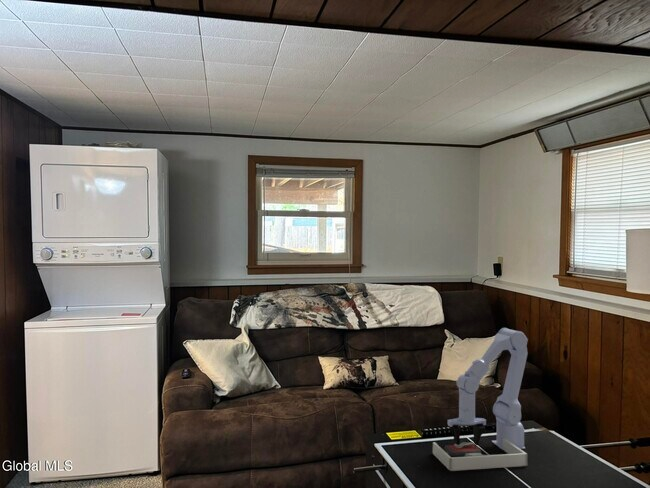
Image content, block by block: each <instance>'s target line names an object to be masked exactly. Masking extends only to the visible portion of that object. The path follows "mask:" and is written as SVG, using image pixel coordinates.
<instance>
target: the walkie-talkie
mask: <svg viewBox="0 0 650 488" xmlns="http://www.w3.org/2000/svg"><path fill="white" fill-rule="evenodd" d="M444 451H445V452H446V453H447V454H448V455H449V456H450V457H451V458H452V457H469V456H485V455H486V454H482V451H481V449H480V448H479V447H478V445H475V444H474V442H472V441H468V442H466V441H463V442H461V443H460V444H459V445H457V444H455V443H454V444H451V445H449V444H448V445H444ZM502 454H503V453H499V454H498V453H497V454H494V455H502Z"/></svg>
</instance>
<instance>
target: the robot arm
mask: <svg viewBox="0 0 650 488" xmlns="http://www.w3.org/2000/svg"><path fill="white" fill-rule="evenodd" d="M528 340H529V338H527V336H526V335H525V333H524V332H523V331H520V330H514V329H509V328H507V327H502V328H501V329H500V330H498V332H497V333H496V334H495V335H494V340H493V342H492V343H491V344H490V346H489V347H488V349H486V352H484V354H483V355H482V357H481V358H477V359H475V360H473V361H472V364H471V365H470V366H469V368H468V369H467V370H465V372H464V373H463V374H461V375H459V377H458V378H457V380H456V381H455V384H456V387H457V388H458V394H459V395H458V397H459V398H458V417H456V418H451V419H447V426H448V427H449V429H450V431H451V433H452V436H453V441H454V444H457V445H459V444H461V443H460V439H461V437H460V436H461V432H462V429H461V428H460V426H461V427H462V426H472V430H473V444H474V445H475V446H479V443H480V440H481V436H482V435H483V433H484V432H485V429H486V427H485V426H486V425H487V419H485V418H484V417H483V418H482V417H476V392H477V391H478V390H479V388H480V383H481V380H482V379H483V378H484V377H485V375H486V374H487V373H488V372H489V371H490V364H491V363H492V362H493V361H494V360H495V359H496V358H497V356H499V355H500V354H501V352H503V351H509V353H510V355H511V356H510V359H509V364H508V368H507V373H506V377H505V382H504V385H503V390H502V394H500V395H499V396H497V398H496V401H495V402H494V404H493V406H492V413H493V415H494V416H495V419H496V438H495V439H496V440H491V443H492V444H494V445H496V447H498V448H499V449H501V450H502V451H504V448H503V439H506V440H508V441H509V442H511V443H512V444H513V445H515V446H516V447H518V448H519V449H521V450H523V449H526V447H525V429H524V426H523V424H522V423H521V420H522V411H521V410H522V405H521V404H520V402H519V399H518V398H519V393H520V390H521V387H522V386H521V385H522V381H523V380H522V379H523V376H524V371H525V367H526V362H527V358H528V354H529V353H528V347H527V345H528Z"/></svg>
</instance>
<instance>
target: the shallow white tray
mask: <svg viewBox="0 0 650 488" xmlns="http://www.w3.org/2000/svg"><path fill="white" fill-rule="evenodd" d="M503 448H504V450H503V451H504V452H505V454H503V453H501V454H502V455H495V454H484V455H485V456H469V457H452V458H451V457H450V456H449V455H448V454H447V453H446V452H445V449H444V448H442V447H441V446H439V444H438V443H437V442H436V441H434V442H432V455H433V456H435V458H436V459H438V460H439V461H440V463H441V464H443V466H444V467H446V468H447V470H449V471H450V472H456V471H457V472H458V471H468V470H482V469H483V470H485V469H487V470H488V469H497V468H499V469H500V468H502V469H503V468H513V467H514V468H515V467H516V468H517V467H528V453H527V452H525V451H524V450H523V449H519V448H518V447H516V446H515V445H513V444H512V443H511V442H509V441H508V440H506V439H503Z"/></svg>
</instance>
